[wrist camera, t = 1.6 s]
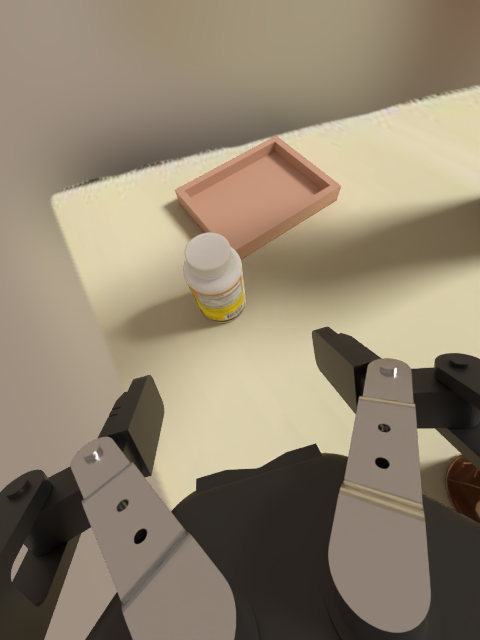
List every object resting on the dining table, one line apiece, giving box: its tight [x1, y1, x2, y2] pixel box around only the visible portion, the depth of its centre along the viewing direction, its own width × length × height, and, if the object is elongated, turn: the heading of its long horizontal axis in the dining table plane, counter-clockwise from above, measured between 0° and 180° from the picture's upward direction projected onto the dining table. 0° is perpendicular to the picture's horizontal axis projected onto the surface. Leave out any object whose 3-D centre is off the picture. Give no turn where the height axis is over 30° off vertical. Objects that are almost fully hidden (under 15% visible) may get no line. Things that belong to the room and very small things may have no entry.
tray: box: [175, 136, 341, 259], centre depth 36 cm, size 18×14×2 cm
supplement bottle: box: [183, 233, 246, 323], centre depth 26 cm, size 6×6×10 cm
